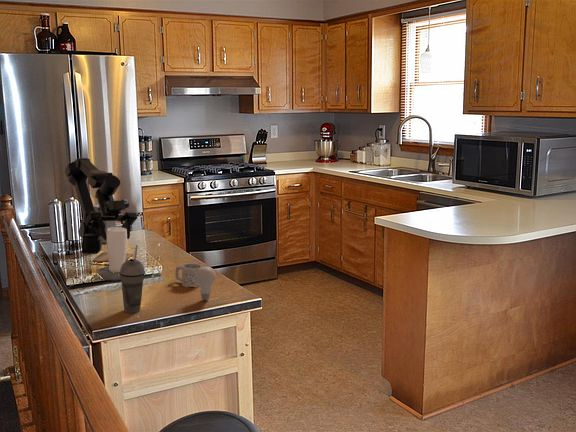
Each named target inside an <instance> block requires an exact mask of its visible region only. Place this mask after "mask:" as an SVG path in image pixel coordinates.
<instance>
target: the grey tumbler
mask: <svg viewBox="0 0 576 432" xmlns="http://www.w3.org/2000/svg"><path fill="white" fill-rule="evenodd" d="M127 244H128V239H127V229H126V228H122V226H121V227H118V226H116V227H113V228H108V229H107V243H106V246H107V252H108V260H109V265H108V266H109V271H110V272H114V273H119V272H120V269H121V266H122V265H123V263H124V262H125V257H126V253H127Z"/></svg>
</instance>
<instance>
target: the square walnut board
mask: <svg viewBox="0 0 576 432" xmlns="http://www.w3.org/2000/svg"><path fill="white" fill-rule="evenodd" d="M132 256H133V257H134V253H127V252H126V257H125V262H126V261H127V260H128V259H129V258H130V257H132ZM92 262H94V263H95V262H97V263H103V262H109V260H108V251H107V252H106V251H105V252H104V251H101V252H100V253H98V255H97V256H96V257H94V258H93V259H92Z"/></svg>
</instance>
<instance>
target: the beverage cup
mask: <svg viewBox="0 0 576 432" xmlns="http://www.w3.org/2000/svg"><path fill="white" fill-rule="evenodd" d="M138 247H139V246H138V244H135V250H134V255H133V258H132V259H130V260H127V261H126V262H124V263H123V265H122V266H121V269H120V278H121V280H120V281H121V291H122V299H123V300H122V302H123V310H124V312H125V313H127V314H137V313H139V312H140V311H141V305H142V298H143V289H144V288H143V287H144V286H143V285H144V280H145V275H146V271H145V267H144V265H143V263H142V262H141V261H140V260H138V259H137V255H138V253H137V252H138Z"/></svg>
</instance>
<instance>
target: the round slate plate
mask: <svg viewBox="0 0 576 432" xmlns="http://www.w3.org/2000/svg"><path fill="white" fill-rule="evenodd" d="M97 273H98V274H99V275H100V276H101V277H102V278H103V279H102V280H103V281H113V282H114V281H115V282H117V281H121V278H120V272H119V273H113V272H110V271H109V265H107V266H104V267H100V268H98V269H97V270H96V274H97Z"/></svg>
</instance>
